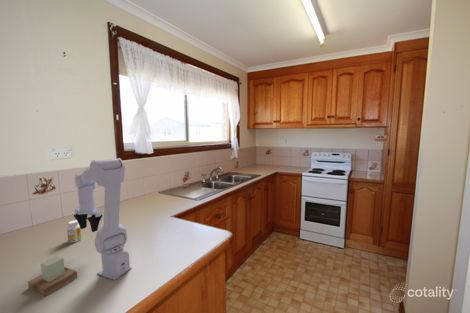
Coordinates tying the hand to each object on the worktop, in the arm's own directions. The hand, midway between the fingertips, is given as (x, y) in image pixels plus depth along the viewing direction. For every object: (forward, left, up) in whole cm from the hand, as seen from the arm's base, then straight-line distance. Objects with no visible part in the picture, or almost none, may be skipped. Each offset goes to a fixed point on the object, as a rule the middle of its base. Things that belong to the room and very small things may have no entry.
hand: (89, 229), depth 98 cm
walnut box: (-8, +19, -11) cm, 23 cm away
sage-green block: (-8, +19, -8) cm, 22 cm away
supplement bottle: (+18, -4, -11) cm, 21 cm away
